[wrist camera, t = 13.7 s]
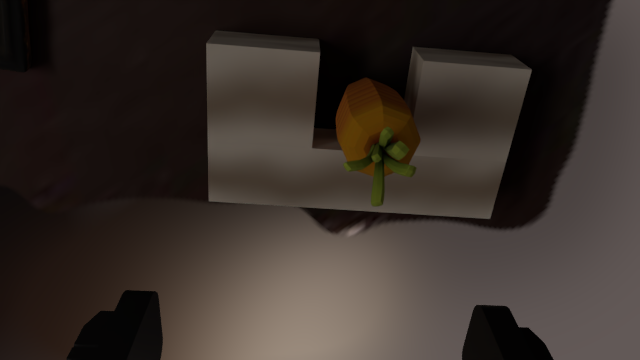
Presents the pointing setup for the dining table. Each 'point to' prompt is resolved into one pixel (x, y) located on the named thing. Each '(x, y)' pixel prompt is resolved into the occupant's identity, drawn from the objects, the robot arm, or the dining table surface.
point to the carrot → (376, 133)
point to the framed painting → (14, 36)
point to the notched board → (322, 145)
